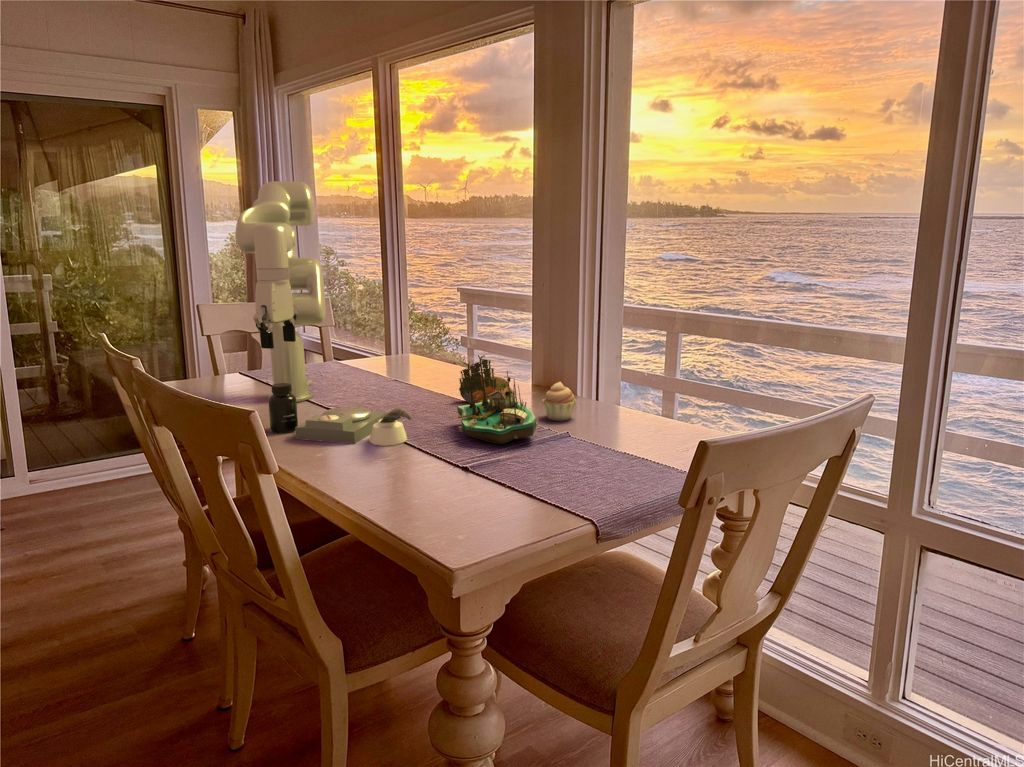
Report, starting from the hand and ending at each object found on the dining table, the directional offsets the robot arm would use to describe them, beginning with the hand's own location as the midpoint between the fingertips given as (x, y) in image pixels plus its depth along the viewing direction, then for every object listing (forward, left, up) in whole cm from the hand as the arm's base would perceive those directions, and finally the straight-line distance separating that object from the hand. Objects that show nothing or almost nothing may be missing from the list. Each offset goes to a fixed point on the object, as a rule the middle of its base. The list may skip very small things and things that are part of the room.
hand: (279, 344), depth 179 cm
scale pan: (-6, +15, -19) cm, 25 cm away
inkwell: (+4, +33, -23) cm, 40 cm away
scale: (-3, +15, -22) cm, 27 cm away
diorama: (-10, +53, -23) cm, 58 cm away
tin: (-38, +42, -23) cm, 61 cm away
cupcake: (-28, +66, -23) cm, 75 cm away
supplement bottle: (0, 0, -23) cm, 23 cm away
